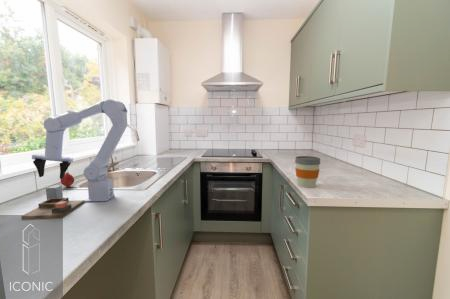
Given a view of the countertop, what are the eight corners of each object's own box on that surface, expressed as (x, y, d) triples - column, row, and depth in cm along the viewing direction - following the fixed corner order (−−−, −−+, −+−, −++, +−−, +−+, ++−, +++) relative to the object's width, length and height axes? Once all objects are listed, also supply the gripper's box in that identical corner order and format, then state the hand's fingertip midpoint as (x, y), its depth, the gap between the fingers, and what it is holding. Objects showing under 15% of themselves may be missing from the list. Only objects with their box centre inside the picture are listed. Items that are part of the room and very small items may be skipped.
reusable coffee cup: (289, 183, 124) (290, 156, 122) (306, 181, 129) (307, 155, 128) (306, 190, 113) (307, 160, 111) (324, 187, 118) (326, 158, 116)
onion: (59, 189, 114) (57, 173, 113) (64, 186, 120) (62, 171, 119) (72, 188, 116) (71, 172, 115) (76, 185, 121) (75, 170, 120)
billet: (62, 198, 100) (61, 185, 100) (57, 201, 96) (55, 187, 96) (53, 198, 100) (52, 185, 99) (47, 201, 96) (45, 188, 95)
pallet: (84, 202, 95) (84, 196, 95) (62, 217, 80) (61, 210, 80) (50, 203, 94) (50, 197, 94) (21, 218, 79) (20, 211, 79)
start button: (67, 205, 85) (67, 201, 85) (63, 208, 83) (62, 203, 82) (60, 206, 85) (59, 201, 85) (55, 208, 82) (55, 203, 82)
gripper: (77, 147, 101) (74, 176, 103) (39, 142, 98) (37, 173, 99) (70, 149, 94) (67, 180, 96) (29, 144, 91) (27, 177, 92)
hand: (51, 177), depth 97 cm, fingers open, 7 cm apart
